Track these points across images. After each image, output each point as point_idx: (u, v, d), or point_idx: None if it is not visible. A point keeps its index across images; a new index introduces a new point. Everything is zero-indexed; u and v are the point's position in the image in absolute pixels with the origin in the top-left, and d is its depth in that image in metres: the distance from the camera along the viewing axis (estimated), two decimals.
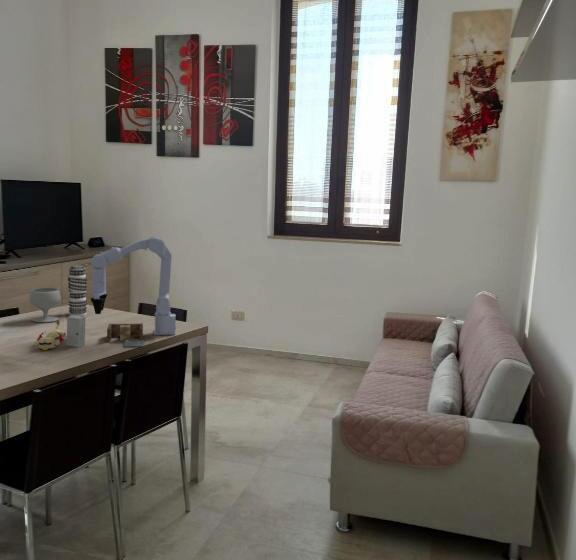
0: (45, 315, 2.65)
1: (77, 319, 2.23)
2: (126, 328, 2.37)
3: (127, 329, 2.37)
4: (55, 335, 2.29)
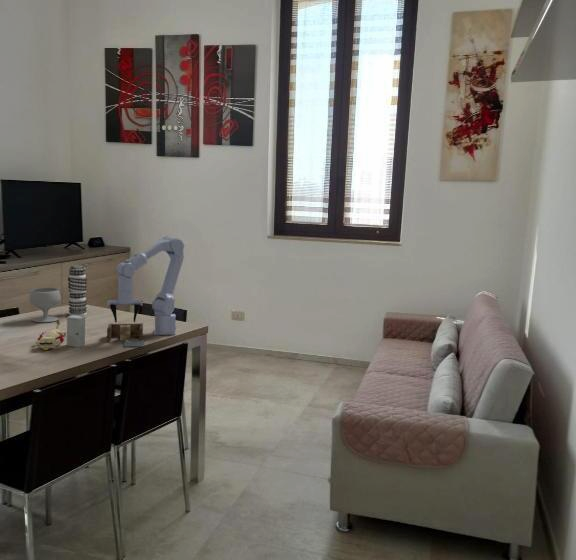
0: (45, 315, 2.65)
1: (77, 319, 2.23)
2: (126, 328, 2.37)
3: (127, 329, 2.37)
4: (55, 335, 2.29)
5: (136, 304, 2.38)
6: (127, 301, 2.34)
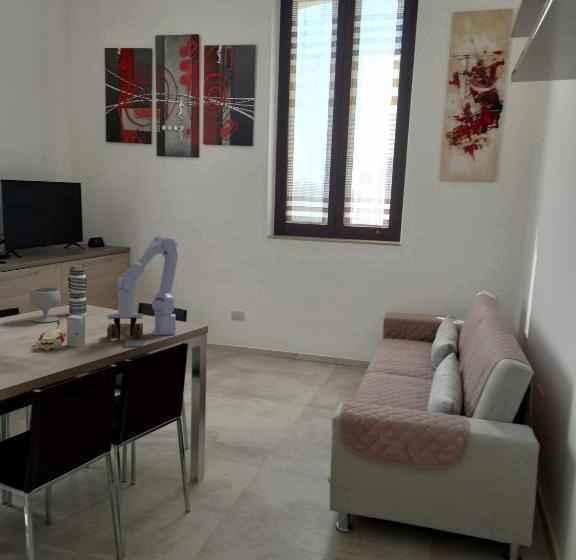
0: (45, 315, 2.65)
1: (77, 319, 2.23)
2: (126, 328, 2.37)
3: (127, 329, 2.37)
4: (56, 335, 2.29)
5: (136, 317, 2.38)
6: (127, 315, 2.35)
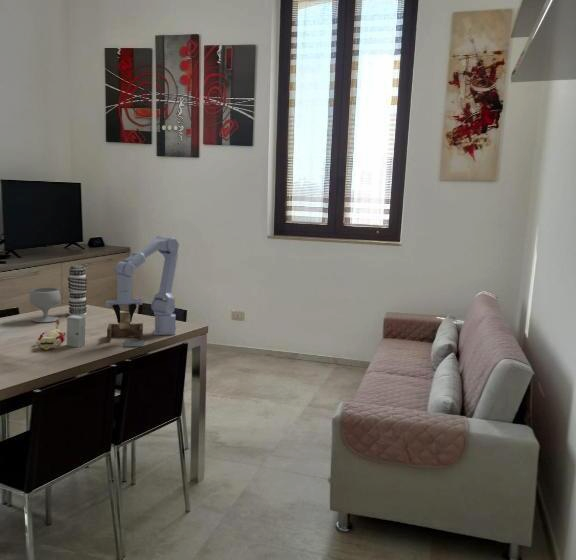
0: (45, 315, 2.65)
1: (77, 319, 2.23)
2: (126, 315, 2.31)
3: (127, 316, 2.31)
4: (56, 335, 2.29)
5: (136, 303, 2.33)
6: (128, 301, 2.29)
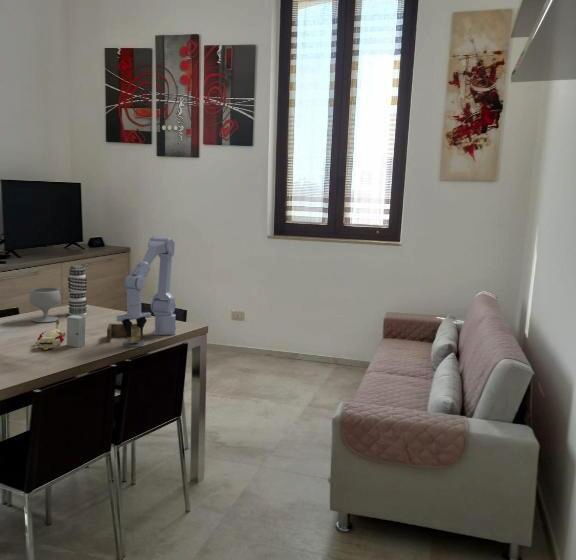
0: (45, 315, 2.65)
1: (77, 319, 2.23)
2: (137, 329, 2.30)
3: (138, 330, 2.30)
4: (55, 335, 2.29)
5: (145, 317, 2.32)
6: (139, 315, 2.28)
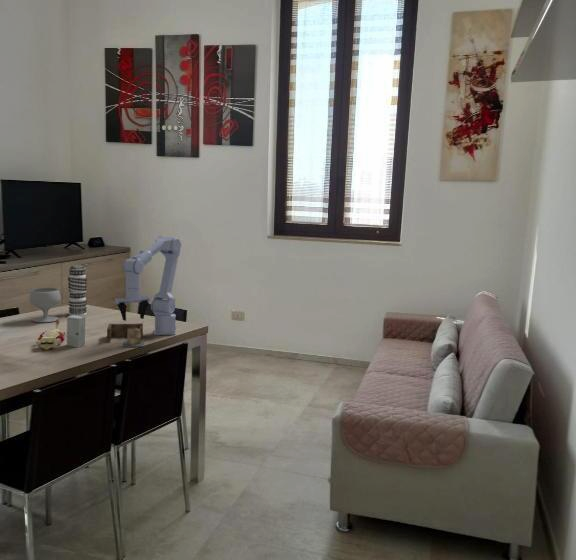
0: (45, 315, 2.65)
1: (77, 319, 2.23)
2: (137, 331, 2.30)
3: (138, 332, 2.30)
4: (56, 334, 2.29)
5: (144, 300, 2.34)
6: (137, 298, 2.29)
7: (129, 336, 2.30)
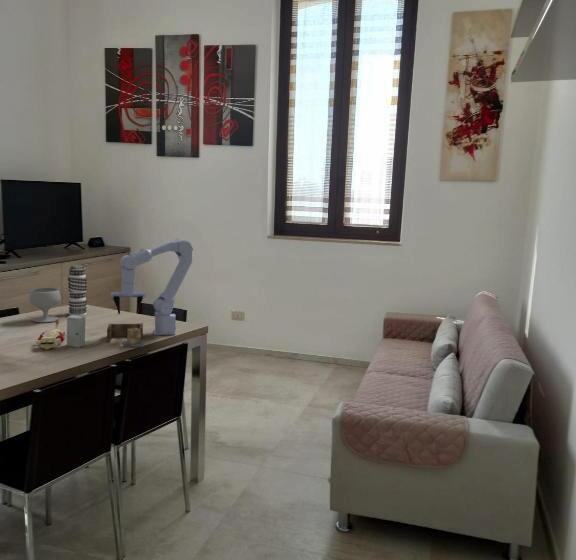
0: (45, 315, 2.65)
1: (77, 319, 2.23)
2: (137, 331, 2.30)
3: (138, 332, 2.30)
4: (56, 334, 2.30)
5: (139, 296, 2.42)
6: (130, 293, 2.39)
7: (129, 336, 2.30)
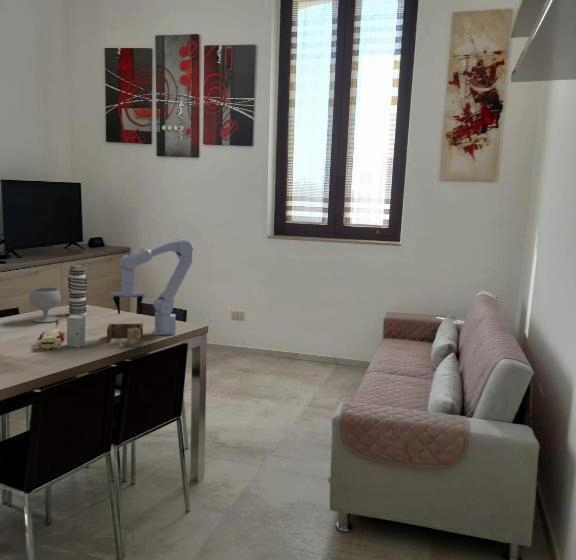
0: (45, 315, 2.65)
1: (77, 319, 2.23)
2: (137, 331, 2.30)
3: (138, 332, 2.30)
4: (56, 334, 2.30)
5: (139, 296, 2.42)
6: (130, 293, 2.39)
7: (129, 336, 2.30)
